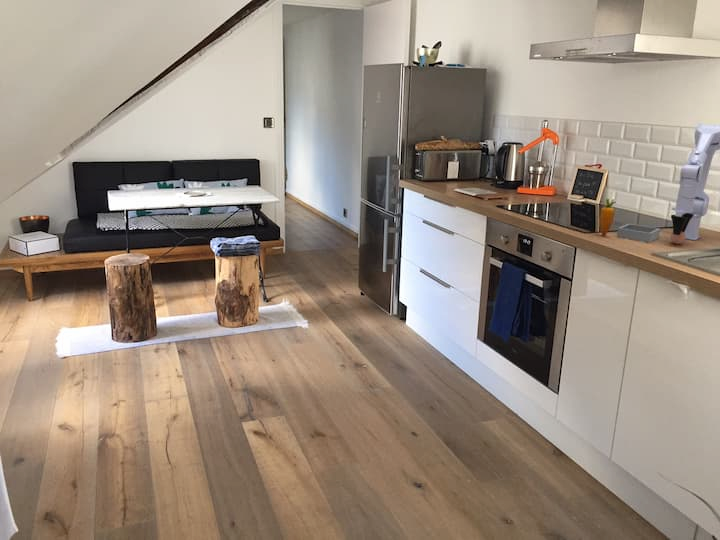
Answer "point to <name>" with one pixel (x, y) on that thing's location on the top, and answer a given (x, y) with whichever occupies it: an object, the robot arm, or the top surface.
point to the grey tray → (638, 232)
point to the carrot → (606, 217)
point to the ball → (678, 238)
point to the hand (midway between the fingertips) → (678, 233)
